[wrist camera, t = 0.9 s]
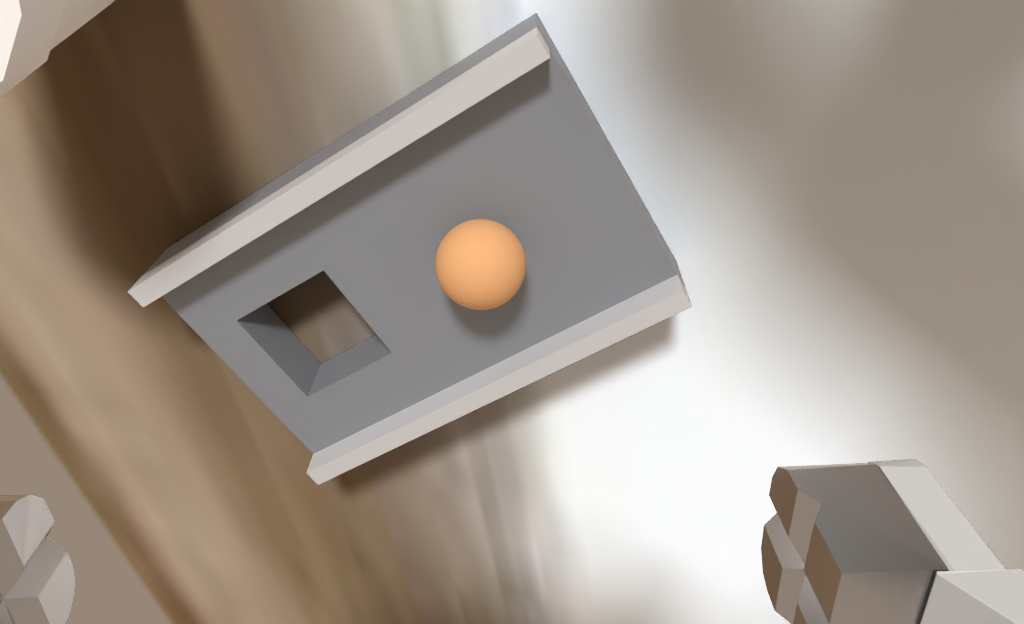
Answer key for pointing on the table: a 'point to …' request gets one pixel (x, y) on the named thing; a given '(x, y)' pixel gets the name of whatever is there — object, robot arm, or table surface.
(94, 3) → the foam cup
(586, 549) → the table surface
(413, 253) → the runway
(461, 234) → the ball
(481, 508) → the table surface
